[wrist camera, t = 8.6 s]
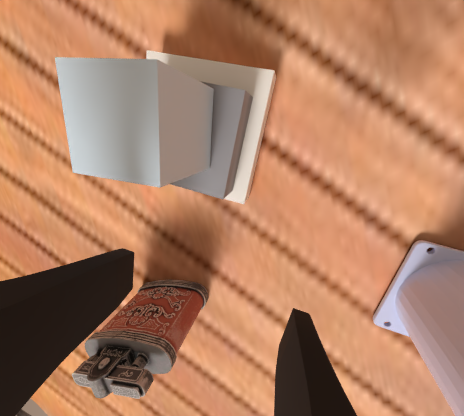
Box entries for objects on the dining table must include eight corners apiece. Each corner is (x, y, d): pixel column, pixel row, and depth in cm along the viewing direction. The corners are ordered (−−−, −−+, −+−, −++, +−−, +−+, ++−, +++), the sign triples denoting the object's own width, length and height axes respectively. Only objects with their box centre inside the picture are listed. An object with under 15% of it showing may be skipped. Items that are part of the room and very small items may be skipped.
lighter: (147, 305, 26) (64, 399, 16) (138, 279, 25) (46, 364, 16) (211, 307, 23) (157, 419, 14) (204, 279, 22) (141, 378, 13)
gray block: (213, 88, 13) (157, 59, 8) (209, 168, 14) (160, 187, 9) (144, 85, 14) (54, 57, 9) (147, 159, 15) (72, 172, 10)
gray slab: (253, 97, 15) (245, 90, 12) (232, 190, 17) (223, 199, 15) (164, 79, 16) (142, 69, 13) (156, 169, 18) (136, 174, 16)
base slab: (277, 79, 16) (274, 70, 14) (249, 196, 19) (243, 204, 17) (165, 61, 18) (146, 50, 15) (157, 171, 21) (140, 175, 19)
